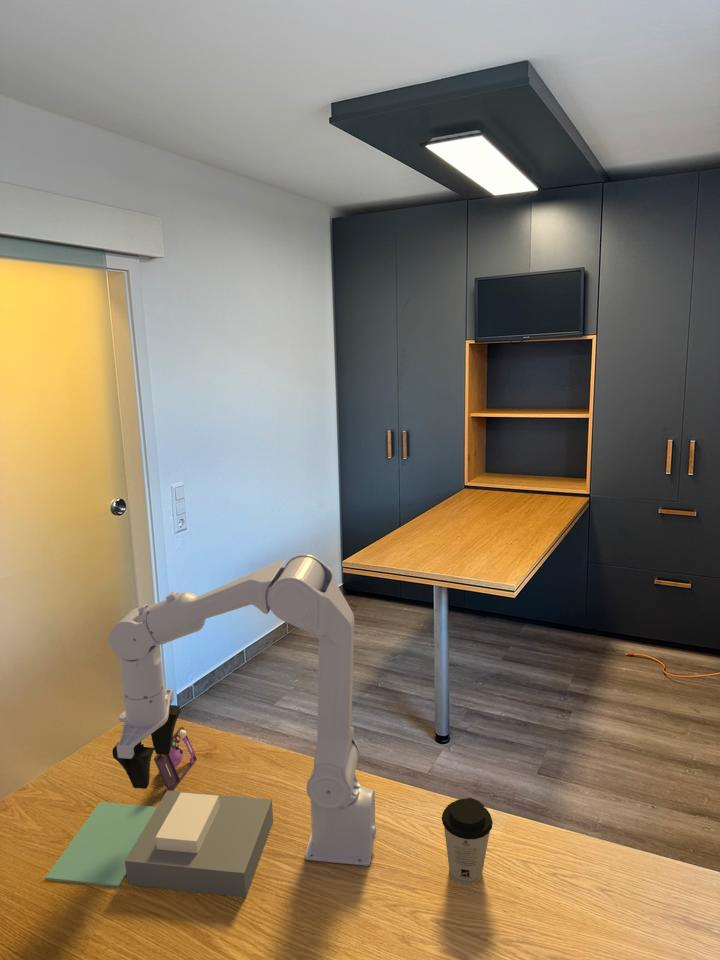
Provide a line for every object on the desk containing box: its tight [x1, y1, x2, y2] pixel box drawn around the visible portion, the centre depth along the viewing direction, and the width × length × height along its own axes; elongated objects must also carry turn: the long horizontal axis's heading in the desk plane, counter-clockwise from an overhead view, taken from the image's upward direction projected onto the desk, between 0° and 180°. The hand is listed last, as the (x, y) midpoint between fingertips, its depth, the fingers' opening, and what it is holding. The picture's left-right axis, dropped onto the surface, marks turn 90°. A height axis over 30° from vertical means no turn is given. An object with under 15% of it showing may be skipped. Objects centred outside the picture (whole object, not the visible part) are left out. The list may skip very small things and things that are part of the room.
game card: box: [153, 726, 198, 791], centre depth 114 cm, size 7×5×9 cm
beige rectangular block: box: [156, 791, 220, 853], centre depth 97 cm, size 6×9×2 cm, turn 172°
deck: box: [125, 789, 274, 898], centre depth 97 cm, size 17×14×4 cm
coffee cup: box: [441, 797, 494, 885], centre depth 92 cm, size 7×7×10 cm
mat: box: [44, 801, 157, 888], centre depth 100 cm, size 11×15×1 cm
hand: (152, 769), depth 100 cm, fingers open, 7 cm apart
